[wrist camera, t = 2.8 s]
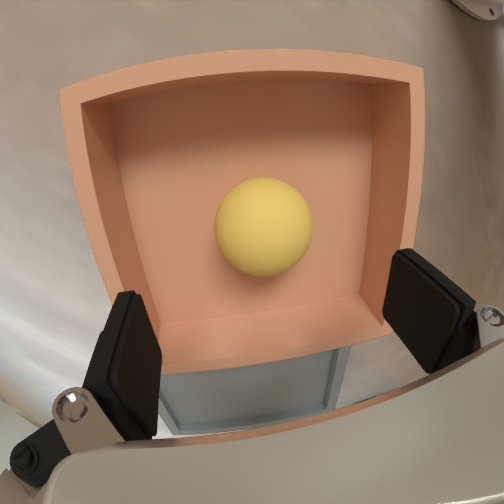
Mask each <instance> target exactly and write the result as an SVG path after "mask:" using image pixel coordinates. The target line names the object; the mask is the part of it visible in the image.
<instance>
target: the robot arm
mask: <svg viewBox="0 0 504 504" xmlns="http://www.w3.org/2000/svg"><path fill="white" fill-rule="evenodd" d="M451 1H452V2H454V3H455V4H456V5H457V6H458V7H460V8H461V9H462V10H463V11H465V12H466V13H468V14H469V15H471V16H473V17H475V18H477V19H480V20H485V21H486V20H495V19H497V18H498V17H499V16H500V15H501V12H502V4H504V0H451ZM475 304H476V301H475V300H474V299H472V298H471V297H470V296H469V295H468V294H467V293H466V292H464V291H463V290H462V289H461V288H460V287H459V286H457V285H456V284H455V283H454V282H453V281H451V280H450V279H449V278H448V277H447V276H445V275H444V274H443V273H442V272H440V271H439V270H438V269H437V268H436V267H434V266H433V265H432V264H430V263H429V262H428V261H427V260H425V259H424V258H423V257H422V256H420V255H419V254H418V253H416V252H415V251H414V250H412V249H411V248H405V249H400V250H397V251H396V252H395V254H394V255H393V256H392V260H391V266H390V272H389V278H388V283H387V288H386V294H385V299H384V303H383V308H382V314H383V317H384V319H385V320H386V321H387V323H388V324H389V325H390V326H391V328H392V329H393V330H394V331H395V333H396V334H397V335H398V337H399V338H400V339H401V340H402V342H403V343H404V344H405V346H406V347H407V348H408V350H409V351H410V352H411V354H412V355H413V356H414V358H415V359H416V360H417V362H418V363H419V364H420V366H421V367H422V368H423V370H424V371H425V372H426V373H429V374H430V375H428V376H426V377H424V378H421V379H419V380H417V381H414V382H412V383H410V384H407V385H405V386H403V387H400V388H398V389H395V390H393V391H390V392H388V393H385V394H382V395H380V396H377V397H374V398H371V399H368V400H366V401H363V402H360V403H357V404H354V405H350V406H347V407H344V408H341V409H338V410H334V411H331V412H327V413H324V414H320V415H316V416H312V417H308V418H304V419H300V420H296V421H292V422H287V423H283V424H278V425H273V426H268V427H262V428H257V429H251V430H244V431H238V432H230V433H223V434H214V435H206V436H196V437H184V438H168V439H152V436H156V434H157V421H158V405H159V391H160V379H161V367H162V351H161V348H160V346H159V343H158V340H157V338H156V335H155V333H154V330H153V327H152V324H151V322H150V319H149V316H148V313H147V310H146V307H145V304H144V301H143V298H142V296H141V294H136V292H135V291H134V290H132V291H124V292H118V294H117V296H116V299H115V301H114V304H113V306H112V309H111V312H110V314H109V317H108V319H107V322H106V325H105V327H104V330H103V331H102V332H101V333H100V335H99V338H98V341H97V343H96V346H95V349H94V352H93V355H92V358H91V361H90V364H89V367H88V370H87V373H86V376H85V380H84V383H83V386H82V388H80V387H74V388H69V389H67V390H65V391H63V392H62V393H61V394H59V395H58V397H57V398H56V399H55V401H54V403H53V406H52V415H53V418H54V419H53V420H51V421H50V422H49V423H47V424H46V425H44V426H43V427H41V428H40V429H39V430H37V431H36V432H34V433H33V434H31V435H30V436H28V437H27V438H26V439H24V440H23V441H21V442H20V443H18V444H17V445H16V446H15V447H14V449H13V450H12V452H11V456H10V466H11V469H10V470H8V469H7V468H6V469H5V470H4V471H3V473H2V474H1V475H0V504H504V312H503V311H502V310H501V309H499V308H497V307H496V306H493V305H488V304H485V305H481V306H479V307H478V309H477V311H476V312H475V311H473V309H474V306H475Z"/></svg>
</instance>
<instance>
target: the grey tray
mask: <svg viewBox="0 0 504 504" xmlns="http://www.w3.org/2000/svg"><path fill="white" fill-rule="evenodd" d="M349 350H350V345H349V346H345V347H341V348H337V349H333V350H328V351H324V352H319V353H315V354H310V355H305V356H300V357H295V358H290V359H284V360H279V361H273V362H267V363H261V364H254V365H248V366H241V367H233V368H225V369H217V370H208V371H198V372H187V373H174V374H161V379H160V391H159V405H158V413H159V415H160V416H161V418H162V419H163V421H164V422H165V424H166V425H167V427H168V428H169V430H170V431H171V433H172V434H173V435H190V434H206V433H218V432H228V431H237V430H245V429H252V428H259V427H265V426H271V425H277V424H282V423H287V422H292V421H296V420H300V419H304V418H308V417H312V416H316V415H320V414H324V413H327V412H331V411H334V408H335V405H336V401H337V398H338V394H339V390H340V387H341V383H342V379H343V375H344V371H345V367H346V363H347V358H348V354H349Z"/></svg>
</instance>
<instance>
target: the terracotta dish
mask: <svg viewBox="0 0 504 504" xmlns="http://www.w3.org/2000/svg"><path fill="white" fill-rule="evenodd" d="M60 100H61V109H62V118H63V126H64V133H65V140H66V146H67V152H68V157H69V162H70V167H71V172H72V177H73V182H74V186H75V190H76V195H77V199H78V203H79V207H80V211H81V214H82V218H83V221H84V225H85V228H86V232H87V235H88V239H89V242H90V245H91V248H92V251H93V254H94V257H95V260H96V263H97V266H98V269H99V272H100V274H101V277H102V280H103V283H104V285H105V288H106V290H107V293H108V296H109V298H110V301H111V303H112V306H113V304H114V301H115V299H116V296H117V294H118V292H124V291H132V290H134V291H135V292H136V294H141V296H142V298H143V301H144V304H145V307H146V310H147V313H148V316H149V319H150V322H151V324H152V327H153V330H154V333H155V335H156V338H157V340H158V343H159V346H160V348H161V351H162V367H161V374H174V373H187V372H198V371H208V370H217V369H225V368H233V367H241V366H248V365H254V364H261V363H267V362H273V361H279V360H284V359H290V358H295V357H300V356H305V355H310V354H315V353H319V352H324V351H328V350H333V349H337V348H341V347H345V346H349V345H353V344H357V343H361V342H365V341H368V340H372V339H376V338H379V337H383V336H386V335H389V334H392V331H393V329H392V328H391V326H390V325H389V324H388V323H387V321H386V320H385V319H384V317H383V314H382V308H383V303H384V299H385V294H386V288H387V283H388V278H389V272H390V266H391V260H392V256H393V255H394V254H395V252H396V251H397V250H400V249H405V248H411V249H412V250H413V244H414V239H415V233H416V227H417V220H418V213H419V205H420V197H421V188H422V177H423V164H424V146H425V92H424V75H423V68H421V67H417V66H413V65H409V64H405V63H401V62H396V61H391V60H386V59H381V58H375V57H369V56H363V55H356V54H349V53H340V52H331V51H319V50H302V49H248V50H231V51H219V52H209V53H201V54H193V55H186V56H180V57H174V58H168V59H162V60H157V61H152V62H148V63H143V64H139V65H135V66H131V67H127V68H123V69H119V70H116V71H112V72H109V73H105V74H102V75H99V76H96V77H92V78H89V79H86V80H83V81H81V82H78V83H75V84H72V85H70V86H67V87H64V88H62V89H60ZM259 177H267V178H274V179H278V180H281V181H284V182H286V183H287V184H289V185H291V186H292V187H294V188H295V189H296V190H297V191H298V192H299V193H300V194H301V195H302V196H303V198H304V199H305V200H306V202H307V204H308V206H309V208H310V211H311V214H312V219H313V235H312V240H311V243H310V245H309V248H308V250H307V252H306V253H305V255H304V256H303V258H302V259H301V260H300V261H299V262H298V263H297V264H296V265H294V266H293V267H292V268H290V269H289V270H287V271H285V272H282V273H280V274H277V275H272V276H255V275H251V274H248V273H245V272H243V271H241V270H239V269H237V268H236V267H234V266H233V265H232V264H231V263H230V262H229V261H228V260H227V259H226V258H225V257H224V256H223V254H222V253H221V251H220V249H219V247H218V244H217V242H216V238H215V233H214V221H215V215H216V212H217V209H218V206H219V204H220V203H221V201H222V199H223V198H224V197H225V195H226V194H227V193H228V192H229V191H230V190H231V189H232V188H234V187H235V186H236V185H238V184H240V183H242V182H244V181H246V180H249V179H253V178H259Z"/></svg>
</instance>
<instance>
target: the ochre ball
mask: <svg viewBox="0 0 504 504" xmlns="http://www.w3.org/2000/svg"><path fill="white" fill-rule="evenodd" d="M214 233H215V238H216V242H217V244H218V247H219V249H220V251H221V253H222V254H223V256H224V257H225V258H226V259H227V260H228V261H229V262H230V263H231V264H232V265H233V266H234V267H236V268H237V269H239V270H241V271H243V272H245V273H248V274H251V275H255V276H272V275H277V274H280V273H282V272H285V271H287V270H289V269H290V268H292V267H293V266H294V265H296V264H297V263H298V262H299V261H300V260H301V259H302V258H303V256H304V255H305V253H306V252H307V250H308V248H309V245H310V243H311V240H312V235H313V219H312V214H311V211H310V208H309V206H308V204H307V202H306V200H305V199H304V198H303V196H302V195H301V194H300V193H299V192H298V191H297V190H296V189H295V188H294V187H292V186H291V185H289V184H287V183H286V182H284V181H281V180H278V179H274V178H267V177H259V178H253V179H249V180H246V181H244V182H242V183H240V184H238V185H236V186H235V187H234V188H232V189H231V190H230V191H229V192H228V193H227V194H226V195H225V197H224V198H223V199H222V201H221V203H220V204H219V206H218V209H217V212H216V215H215V221H214Z"/></svg>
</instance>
